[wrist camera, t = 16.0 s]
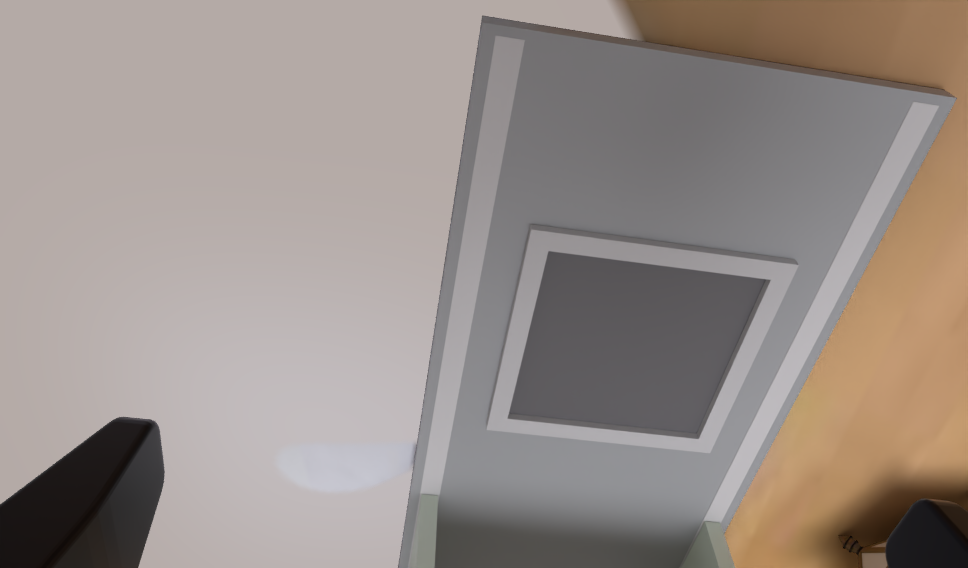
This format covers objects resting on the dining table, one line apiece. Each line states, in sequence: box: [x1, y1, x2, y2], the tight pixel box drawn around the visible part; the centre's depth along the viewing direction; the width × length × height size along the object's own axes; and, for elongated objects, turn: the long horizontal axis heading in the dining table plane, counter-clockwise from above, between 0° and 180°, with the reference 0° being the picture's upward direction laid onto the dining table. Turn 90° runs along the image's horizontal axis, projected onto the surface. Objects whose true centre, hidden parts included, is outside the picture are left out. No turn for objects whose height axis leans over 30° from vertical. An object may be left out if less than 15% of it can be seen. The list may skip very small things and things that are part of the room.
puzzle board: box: [398, 16, 957, 568], centre depth 25 cm, size 12×24×1 cm, turn 171°
